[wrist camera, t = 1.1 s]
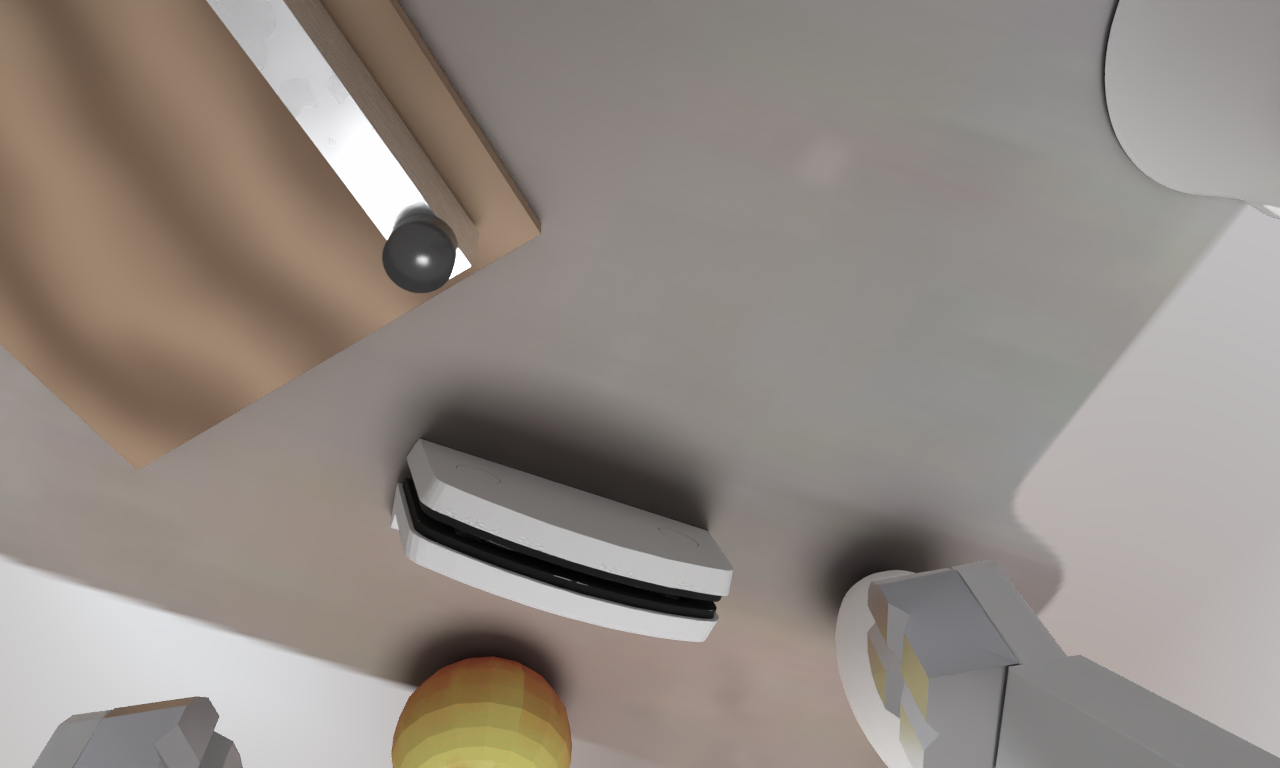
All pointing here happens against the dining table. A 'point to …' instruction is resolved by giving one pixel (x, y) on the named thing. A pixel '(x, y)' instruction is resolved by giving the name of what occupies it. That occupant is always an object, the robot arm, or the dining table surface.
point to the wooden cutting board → (200, 211)
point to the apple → (483, 719)
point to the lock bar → (357, 136)
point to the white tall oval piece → (866, 672)
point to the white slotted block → (558, 546)
